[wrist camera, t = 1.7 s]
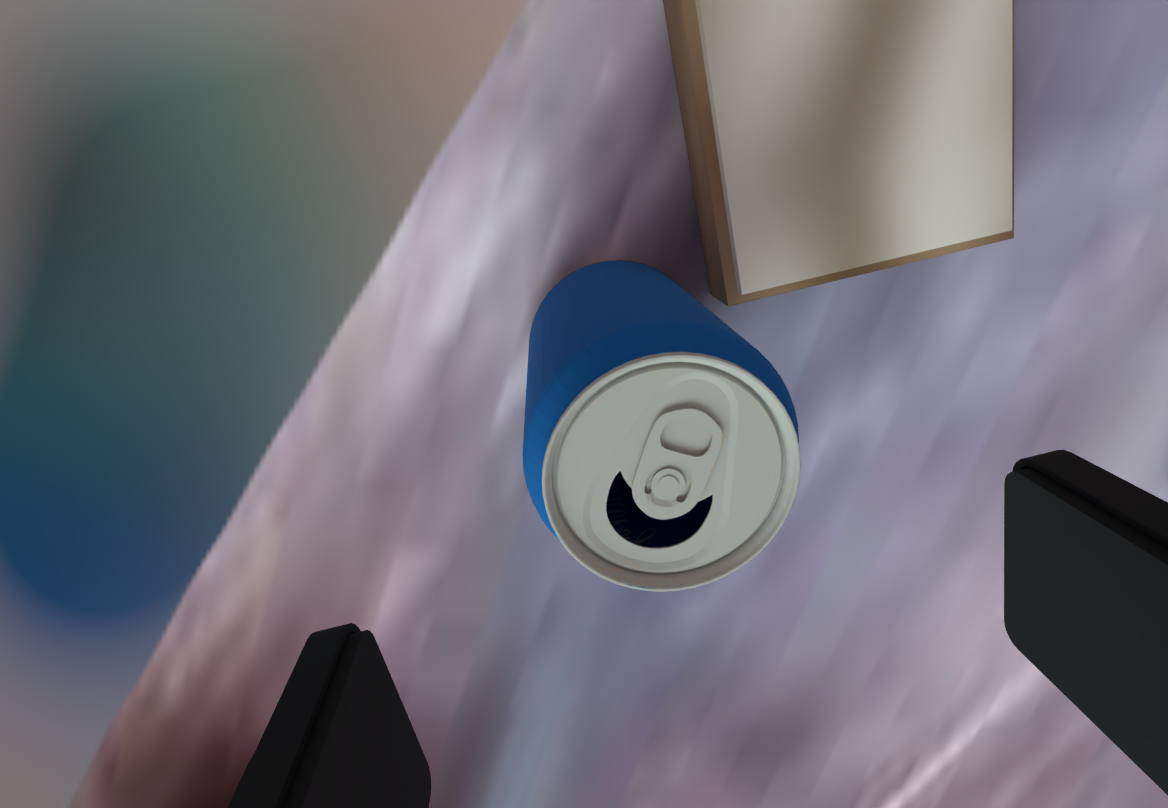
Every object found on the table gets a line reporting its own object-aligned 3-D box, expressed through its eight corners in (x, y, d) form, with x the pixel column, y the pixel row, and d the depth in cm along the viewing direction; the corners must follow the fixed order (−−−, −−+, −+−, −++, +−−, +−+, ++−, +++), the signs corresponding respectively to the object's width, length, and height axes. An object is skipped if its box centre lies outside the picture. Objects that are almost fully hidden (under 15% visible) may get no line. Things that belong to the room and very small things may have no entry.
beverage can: (510, 397, 26) (487, 573, 14) (556, 235, 24) (571, 293, 12) (663, 437, 27) (754, 632, 15) (720, 285, 25) (871, 382, 14)
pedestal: (961, -77, 21) (1026, -115, 18) (968, 231, 25) (1024, 239, 22) (662, -3, 21) (681, -29, 19) (710, 293, 25) (732, 309, 22)
